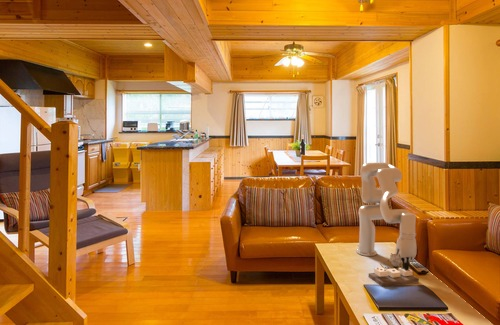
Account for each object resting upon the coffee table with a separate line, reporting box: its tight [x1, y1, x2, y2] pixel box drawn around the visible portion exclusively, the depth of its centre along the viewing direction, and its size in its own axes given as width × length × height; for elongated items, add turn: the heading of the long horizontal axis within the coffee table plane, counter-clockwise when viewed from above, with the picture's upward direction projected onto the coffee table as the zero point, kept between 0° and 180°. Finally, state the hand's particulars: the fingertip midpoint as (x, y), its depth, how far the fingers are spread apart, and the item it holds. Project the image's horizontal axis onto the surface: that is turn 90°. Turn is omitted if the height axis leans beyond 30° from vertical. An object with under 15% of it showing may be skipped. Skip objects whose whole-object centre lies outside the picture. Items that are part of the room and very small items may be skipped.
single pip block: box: [385, 267, 401, 278], centre depth 180 cm, size 5×5×3 cm
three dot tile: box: [373, 267, 388, 277], centre depth 178 cm, size 5×5×3 cm
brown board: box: [368, 272, 420, 288], centre depth 180 cm, size 12×22×2 cm, turn 104°
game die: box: [388, 253, 402, 269], centre depth 198 cm, size 9×8×10 cm
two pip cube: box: [397, 267, 414, 276], centre depth 182 cm, size 5×5×3 cm
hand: (405, 268), depth 182 cm, fingers closed
